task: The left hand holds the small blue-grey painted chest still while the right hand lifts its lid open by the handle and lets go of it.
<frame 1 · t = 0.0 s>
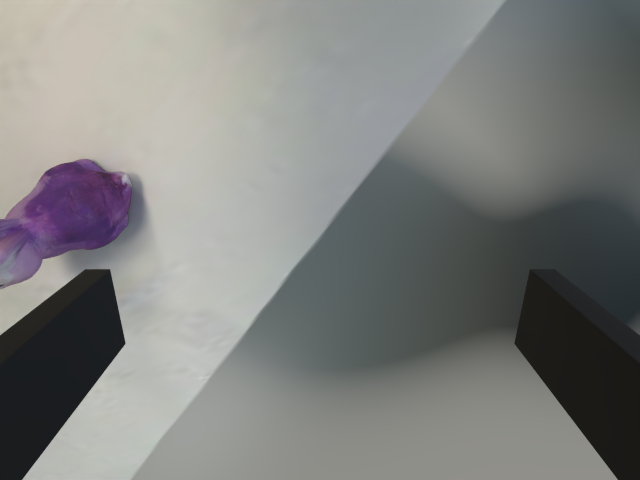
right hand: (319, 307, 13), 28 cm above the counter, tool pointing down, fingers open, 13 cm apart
figurine: (91, 206, 41), on the counter
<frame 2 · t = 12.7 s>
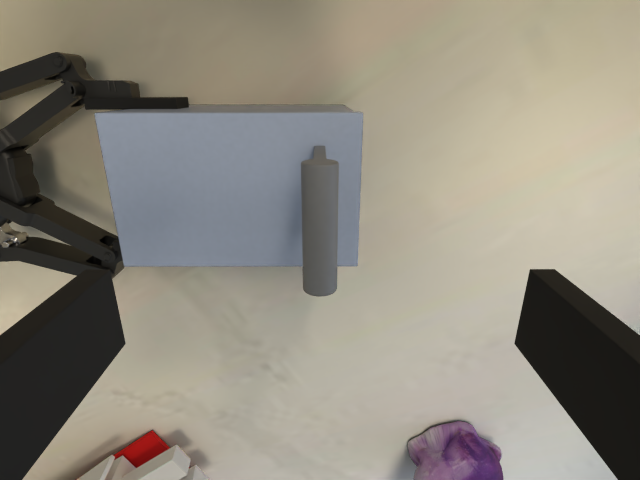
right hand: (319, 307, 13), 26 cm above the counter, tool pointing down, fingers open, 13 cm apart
left hand: (191, 175, 31), fingers closed on chest, 10 cm apart
chest: (258, 162, 37), on the counter, touching left hand
figurine: (443, 446, 50), on the counter
lid: (223, 209, 23), point 15 cm above the counter, hinge at 0.0°
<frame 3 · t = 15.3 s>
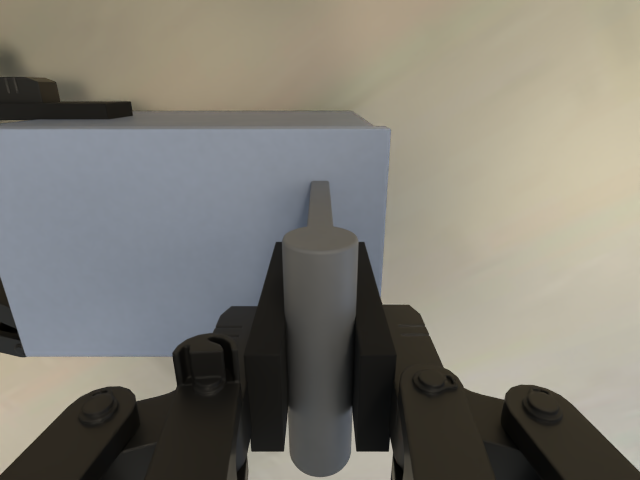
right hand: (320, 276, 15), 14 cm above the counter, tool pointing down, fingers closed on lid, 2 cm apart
chest: (238, 187, 28), on the counter, touching left hand
lid: (158, 293, 13), point 15 cm above the counter, hinge at 0.2°, touching right hand
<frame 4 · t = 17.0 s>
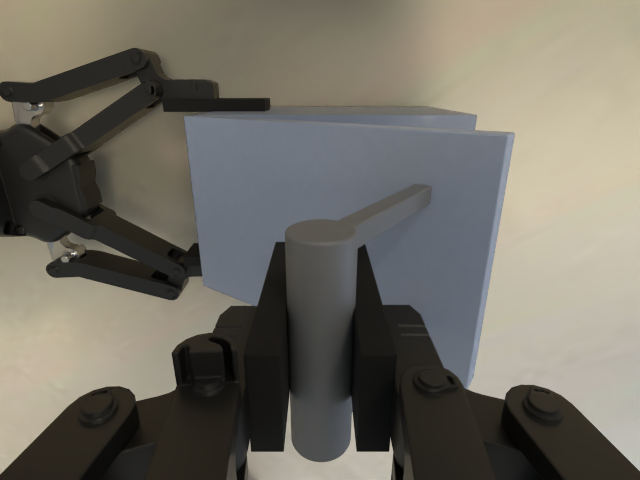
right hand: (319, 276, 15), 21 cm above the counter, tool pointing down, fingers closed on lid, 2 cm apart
left hand: (271, 184, 29), fingers closed on chest, 10 cm apart
chest: (330, 168, 34), on the counter, touching left hand
lid: (258, 257, 16), point 19 cm above the counter, hinge at 34.8°, touching right hand
when the left hand's fingers open (6 cm above the counter, at t = 22.7 s): chest stays where it is, on the counter.
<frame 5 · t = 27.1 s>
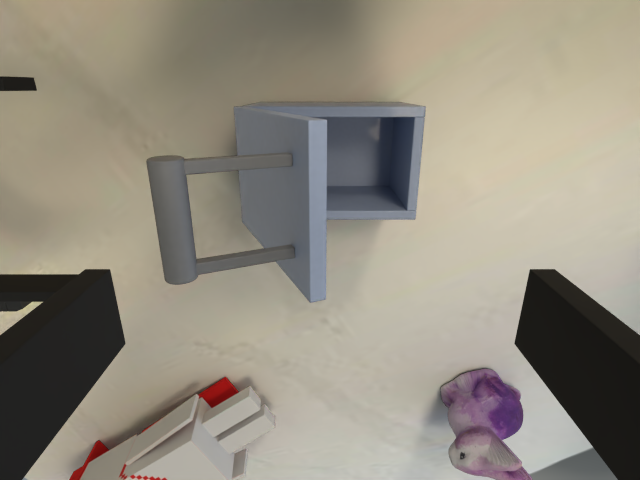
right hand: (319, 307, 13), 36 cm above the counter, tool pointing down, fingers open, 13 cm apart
chest: (329, 148, 46), on the counter
toy: (183, 424, 61), on the counter
figurine: (470, 391, 59), on the counter
lid: (218, 191, 27), point 20 cm above the counter, hinge at 65.9°
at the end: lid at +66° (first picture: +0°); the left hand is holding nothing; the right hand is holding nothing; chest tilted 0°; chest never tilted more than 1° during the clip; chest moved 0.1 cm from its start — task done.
